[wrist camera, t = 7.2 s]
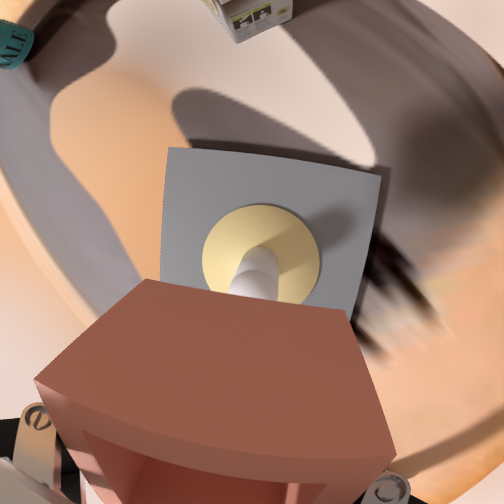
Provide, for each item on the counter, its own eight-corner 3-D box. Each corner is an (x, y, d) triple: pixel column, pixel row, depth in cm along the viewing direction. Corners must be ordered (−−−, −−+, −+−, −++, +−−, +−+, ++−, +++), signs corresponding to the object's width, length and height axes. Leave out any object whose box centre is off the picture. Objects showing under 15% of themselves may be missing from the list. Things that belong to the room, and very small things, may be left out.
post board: (375, 175, 23) (424, 179, 14) (334, 352, 28) (350, 417, 19) (174, 148, 24) (121, 138, 15) (165, 326, 29) (127, 380, 20)
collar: (344, 310, 9) (397, 454, 4) (300, 436, 11) (300, 547, 6) (145, 278, 10) (33, 379, 4) (155, 410, 12) (106, 507, 6)
